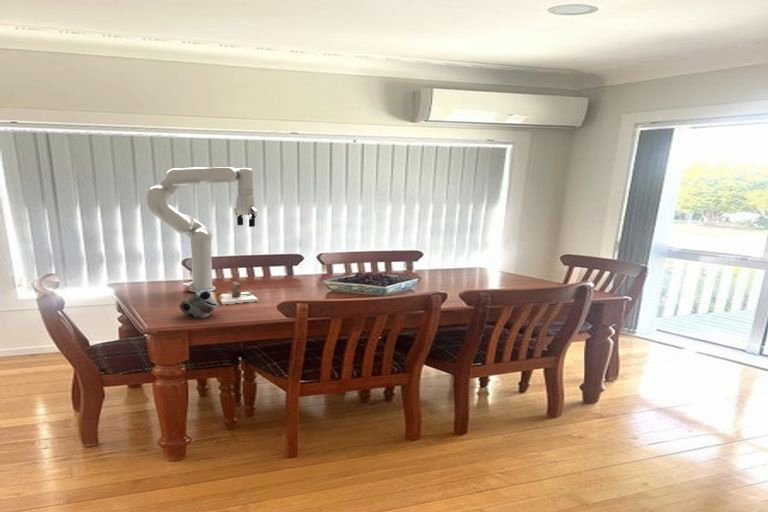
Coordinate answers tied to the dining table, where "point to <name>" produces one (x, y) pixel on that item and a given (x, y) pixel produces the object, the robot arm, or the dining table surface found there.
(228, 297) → the dial board
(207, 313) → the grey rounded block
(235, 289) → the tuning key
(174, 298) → the dining table surface
